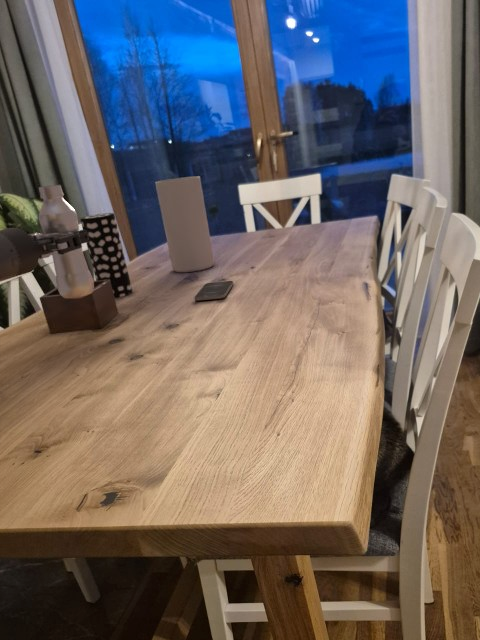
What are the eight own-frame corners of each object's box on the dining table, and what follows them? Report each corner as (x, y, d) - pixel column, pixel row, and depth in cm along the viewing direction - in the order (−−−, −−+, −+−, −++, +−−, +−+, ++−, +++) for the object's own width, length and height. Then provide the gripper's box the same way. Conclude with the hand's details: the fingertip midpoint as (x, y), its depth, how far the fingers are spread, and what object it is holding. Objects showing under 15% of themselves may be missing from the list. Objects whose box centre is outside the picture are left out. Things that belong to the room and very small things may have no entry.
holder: (50, 333, 125) (39, 297, 122) (70, 317, 136) (61, 284, 132) (101, 328, 125) (91, 292, 121) (118, 313, 135) (109, 279, 132)
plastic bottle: (54, 299, 110) (23, 189, 102) (88, 291, 114) (60, 183, 106) (69, 304, 106) (37, 188, 97) (103, 294, 110) (75, 183, 101)
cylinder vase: (202, 261, 181) (187, 176, 171) (222, 265, 172) (207, 176, 161) (166, 270, 175) (148, 182, 164) (185, 275, 165) (167, 182, 155)
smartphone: (233, 280, 149) (224, 295, 135) (234, 283, 149) (225, 298, 135) (205, 283, 149) (193, 298, 136) (205, 286, 150) (193, 301, 136)
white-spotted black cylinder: (125, 288, 158) (106, 212, 150) (137, 292, 152) (119, 213, 143) (95, 295, 154) (75, 218, 145) (107, 300, 148) (86, 219, 139)
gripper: (25, 231, 89) (98, 213, 103) (-39, 233, 95) (38, 216, 109) (39, 279, 92) (108, 255, 106) (-24, 278, 98) (49, 256, 112)
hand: (72, 235), depth 107 cm, fingers closed on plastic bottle, 6 cm apart
